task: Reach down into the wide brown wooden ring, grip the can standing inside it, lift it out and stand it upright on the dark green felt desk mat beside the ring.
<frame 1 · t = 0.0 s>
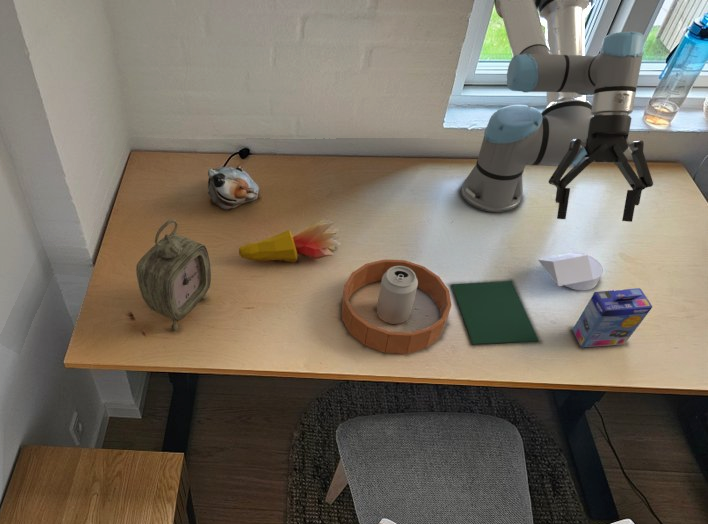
hand: (593, 220, 129), 15 cm above the table, tool tilted 35°, fingers open, 13 cm apart
wedge on round base: (568, 278, 140), on the table
ink cartridge box: (597, 338, 128), on the table
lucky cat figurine: (236, 200, 162), on the table
felt mat: (492, 312, 133), on the table
torch: (290, 255, 148), on the table
brown wooden ring: (392, 313, 134), on the table
can: (392, 314, 134), resting in brown wooden ring
tabletop clock: (180, 310, 137), on the table
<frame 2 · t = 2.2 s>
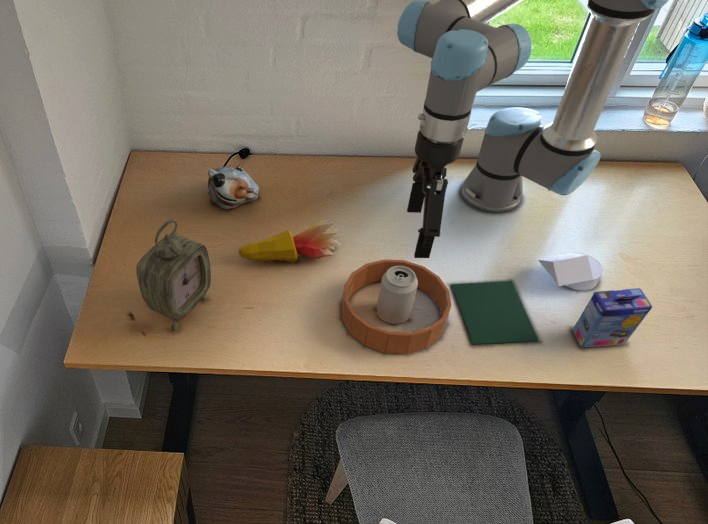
hand: (417, 233, 116), 23 cm above the table, tool pointing down, fingers open, 13 cm apart
nothing on the table moved.
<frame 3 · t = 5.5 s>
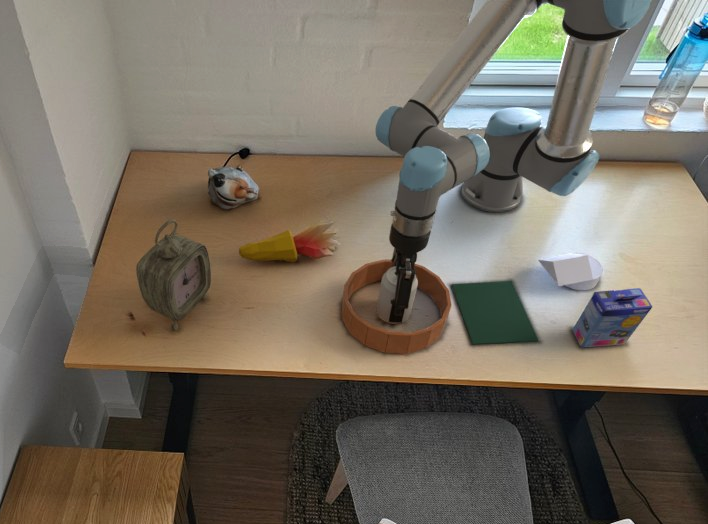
hand: (394, 307, 132), 2 cm above the table, tool pointing down, fingers closed on can, 7 cm apart
can: (392, 314, 134), resting in brown wooden ring, touching gripper
everything else where it was.
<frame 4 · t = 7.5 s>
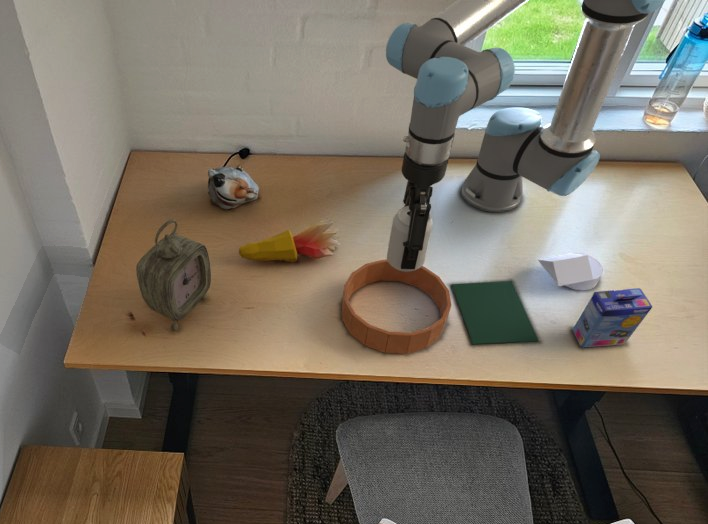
hand: (406, 253, 120), 18 cm above the table, tool pointing down, fingers closed on can, 7 cm apart
can: (404, 262, 122), point 15 cm above the table, touching gripper
everything else where it was.
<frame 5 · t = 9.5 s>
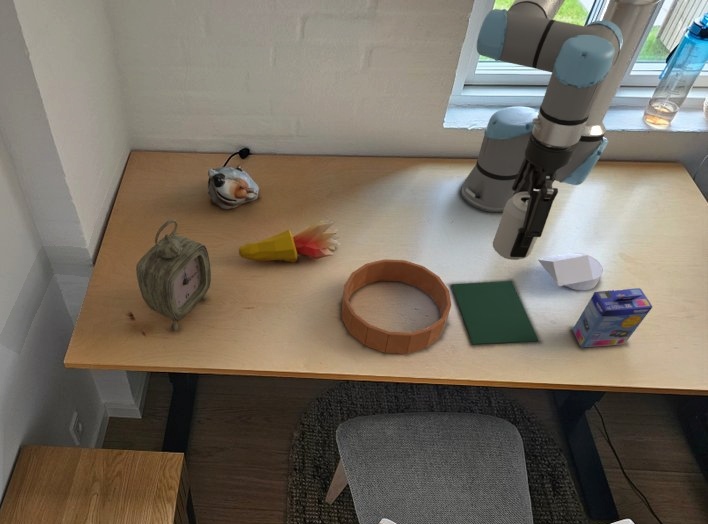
hand: (513, 241, 118), 20 cm above the table, tool pointing down, fingers closed on can, 7 cm apart
can: (510, 250, 119), point 18 cm above the table, touching gripper
everything else where it was.
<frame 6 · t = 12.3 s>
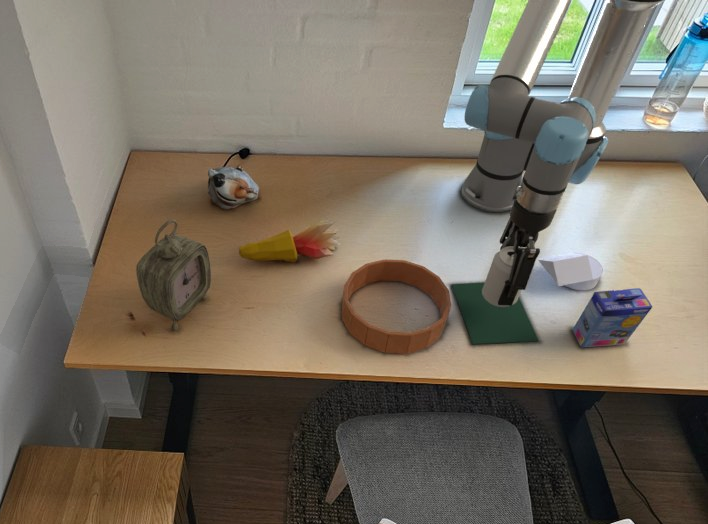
hand: (501, 290, 128), 7 cm above the table, tool pointing down, fingers closed on can, 7 cm apart
can: (498, 297, 130), point 5 cm above the table, touching gripper
everything else where it was.
when the fingers open (2 cm above the table, at t = 13.9 s): can stays where it is, resting on felt mat.
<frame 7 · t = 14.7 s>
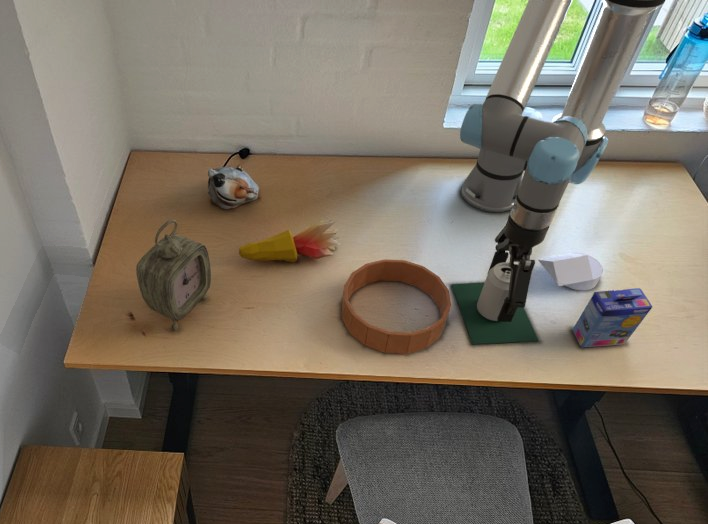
hand: (498, 297, 130), 5 cm above the table, tool pointing down, fingers open, 13 cm apart
can: (492, 311, 133), resting on felt mat
everything else where it was.
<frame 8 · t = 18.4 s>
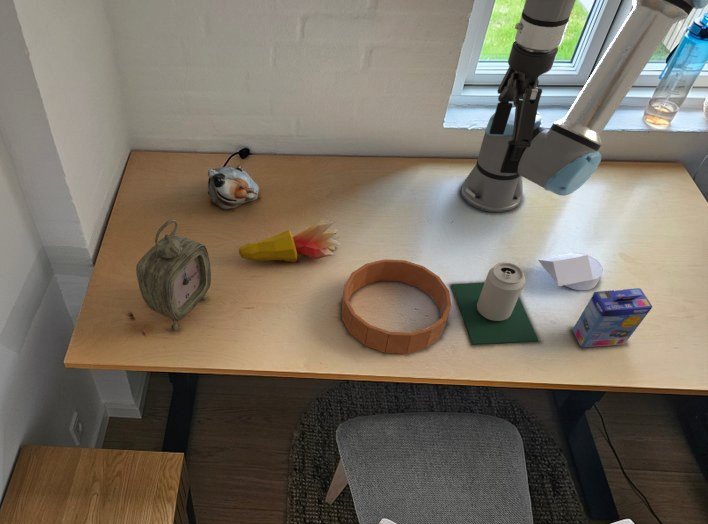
hand: (501, 152, 120), 31 cm above the table, tool pointing down, fingers open, 13 cm apart
nothing on the table moved.
at the end: can inside the target area on the felt mat (0.0 cm from its centre), point 0.2 cm above the felt mat's base; can tilted 0°; the gripper is holding nothing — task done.
